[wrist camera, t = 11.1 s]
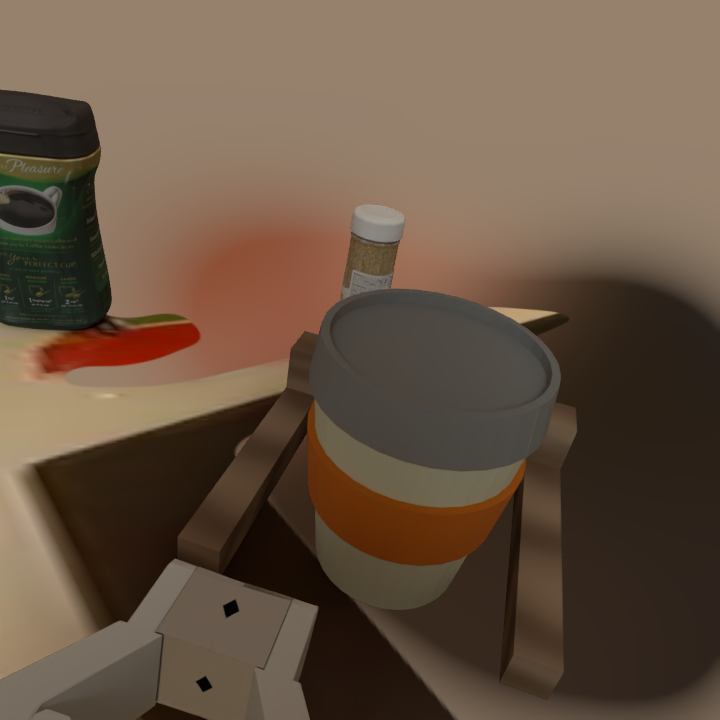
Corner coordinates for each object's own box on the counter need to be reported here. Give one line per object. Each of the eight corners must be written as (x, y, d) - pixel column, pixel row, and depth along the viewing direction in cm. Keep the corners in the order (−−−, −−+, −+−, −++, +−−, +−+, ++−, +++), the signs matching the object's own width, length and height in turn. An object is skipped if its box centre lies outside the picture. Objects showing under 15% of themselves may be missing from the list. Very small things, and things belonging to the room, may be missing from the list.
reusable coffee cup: (323, 457, 44) (354, 268, 36) (492, 509, 42) (564, 322, 34) (251, 594, 33) (275, 370, 26) (473, 672, 32) (571, 456, 24)
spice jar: (339, 329, 60) (361, 198, 53) (383, 341, 60) (411, 210, 53) (326, 350, 57) (347, 212, 50) (372, 363, 56) (400, 225, 49)
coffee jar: (119, 297, 59) (108, 94, 49) (100, 338, 52) (82, 113, 43) (11, 288, 57) (-22, 75, 48) (-23, 329, 51) (-70, 92, 41)
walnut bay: (547, 699, 31) (589, 628, 28) (177, 567, 34) (177, 490, 31) (549, 469, 47) (575, 407, 44) (296, 393, 50) (304, 331, 47)
